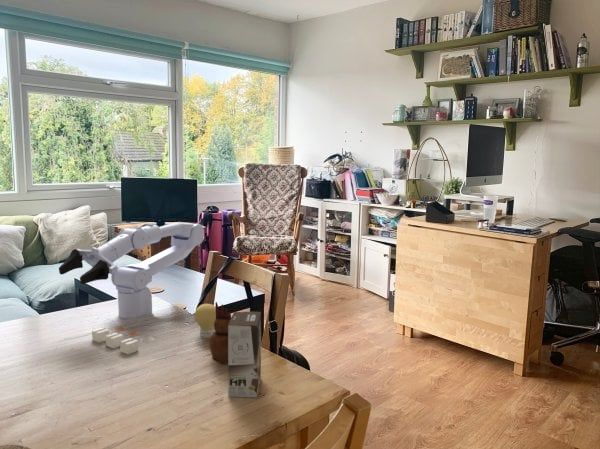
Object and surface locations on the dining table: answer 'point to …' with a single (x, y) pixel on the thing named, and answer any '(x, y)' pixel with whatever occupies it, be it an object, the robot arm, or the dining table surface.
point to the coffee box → (244, 354)
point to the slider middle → (114, 340)
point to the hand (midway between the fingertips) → (70, 276)
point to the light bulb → (205, 319)
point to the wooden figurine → (220, 336)
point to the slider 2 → (129, 346)
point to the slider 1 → (100, 334)
